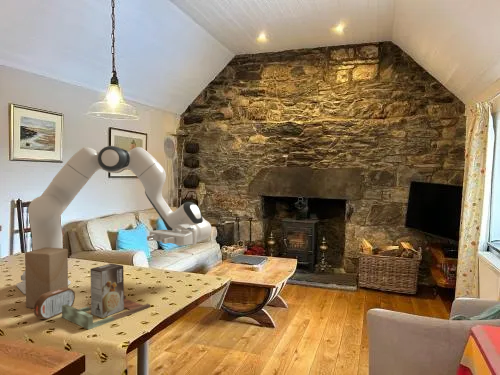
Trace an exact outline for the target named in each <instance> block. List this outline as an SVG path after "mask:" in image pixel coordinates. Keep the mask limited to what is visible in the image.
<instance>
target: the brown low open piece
mask: <svg viewBox="0 0 500 375" xmlns="http://www.w3.org/2000/svg"><path fill="white" fill-rule="evenodd" d="M126 297H127V296H126V295H124V309H127V310H126V311H123V312H122V311H121V312H120V313H119V312H118V313H116V314H114V315H112V316H111V315H110V316H109V317H108V316H107V317H106V318H105V317H104V318H102V319H100V320H97V321H94V315H93V314H90V313H88V312H89V311H91V305H88V306H85V307H81V308H76V307H74V306H72V307H71V306H69V305H67V304H66V305H62V313H61V318H62V319H65V320H68V321H69V322H71V323H73V324H76V325H78V326H80V327H82V328H84V329H87V330H91V329H94V328H97V327H100V326H102V325H106V324H107V323H111V322H113V321H116V320H119V319H122V318H125V317H127V316H129V315H133V314H135V313H138V312H141V311H144V310H147V309H149V308H151V304H150V303H145V304H141V303H138V302H135V301H133V300H130V299H127V298H126Z"/></svg>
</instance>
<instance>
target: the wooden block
mask: <svg viewBox="0 0 500 375" xmlns="http://www.w3.org/2000/svg"><path fill="white" fill-rule="evenodd" d="M68 257H69V252H68V248H48V247H45V248H41V249H37V250H34V251H33V250H32V251H27V252H25V253H24V264H25V265H24V266H25V267H24V268H25V270H24V271H25V279H26V294H25V308H28V309H34V305H35V302H36V301H37V299H38V298H39V297H40V296H41V295H42V294H44V293H47V292H50V291H53V290H56V289H59V288H62V287H67V288H69V285H68V280H69V266H68V265H69V264H68V263H69V258H68Z"/></svg>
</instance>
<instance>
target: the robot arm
mask: <svg viewBox="0 0 500 375" xmlns="http://www.w3.org/2000/svg"><path fill="white" fill-rule="evenodd" d="M99 170H102V171H105V172H107V173H109V174H119V173H122V172H124V171H125V170H130V171H131V172H132V173H133V174H134V175H135V176H136V177H137V178H138V180H139V181H140V183H141V184H142V186H143V188H144V194H145V197H146V198H147V199H148V201H149V202H150V204H151V205H152V207H153V208H154V210H155V212H156V213H157V215H158V216H159V217H160V219H161V220H162V221H163V224H164V227H165V228H166V229H158V230H157V229H155V230H150V231H149V235H148V236H146V241H148V242H151V241H156V242H160V243H162V244H173V245H176V246H178V247H180V246H196V245H197V243H199V242H203V241H205V240H207V239H208V238H209V237H210V236H211V235H212V229H213V228H212V225H211V223H210V222H209V221H208V220H206V219H205V218H204V217H203V214H202V211H201V208H200V207H199V206H198V205H197V204H196V203H195V202H192V201H185V202H184V203H183V204H181V205H180V206H179V207H178V208H177V209H175V210H174V211H173V210H172V209H171V208H170V206H169V205H168V203H167V202H166V200H165V198H164V197H163V188H164V186H165V182H166V179H167V173H166V170H165V168H164V166H163V165H161V163H160V162H159V161H158V160H157V159H156V158H155V156H154V155H152V154H151V153H150V152H148V151H147V150H146V149H144V148H143V147H141V146H137V147H133V148H132V149H130V150H127V149H123V148H120V147H118V146H116V145H108V146H104V147H103V148H102V149H100V150H99V151H97V150H96V149H94V148H93V147H88V146H84V147H81V148H80V149H79V150H77V152H76V153H74V154H73V156H71V157H70V158H69V159H68V160H67V162H66V163H65V164H64V165H63V166H62V167H61V169H60V170H59V171H58V172H57V173H56V174H55V176H54V177H53V179H52V180H51V182H50V183H49V184H48V186H47V187H46V189H45V190H44V191H43V193H42V194H41V195H40V196H37V197H35V198H34V199H33V200H32V201H31V202H30V203H29V205H28V208H27V209H28V210H27V212H28V217H29V227H30V231H31V239H32V240H31V242H32V244H31V245H32V249H31V250H32V251H34V250H37V249H41V248H45V247H48V248H63V247H64V246H63V245H64V243H63V238H64V237H63V236H64V235H63V234H64V233H63V231H62V230H63V228H62V223H61V215H63V213H64V211H65V210H66V209H67V207H69V206H70V204H71V203H72V201H73V200H74V199H75V198H76V196H77V195H78V194H79V192H80V191H81V190H83V188H84V186H85V185H86V184H87V183H88V182H89V181H90V179H91V178H92V176H94V174H95V173H96V172H98V171H99ZM20 280H21V281H20V282H18V283H16V287H17V288H18V289H19V291H20V292H22V294H24V295H26V279H25V270H24V271H23V272H22V274H21V275H20ZM70 284H72V281H71V280H69V279H68V286H69V285H70Z"/></svg>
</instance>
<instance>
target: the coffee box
mask: <svg viewBox="0 0 500 375" xmlns="http://www.w3.org/2000/svg"><path fill="white" fill-rule="evenodd" d="M124 284H125V281H124V265H121V264H118V263H117V264H116V263H108V264H104V265H100V266H95V267H92V268H90V298H91V299H90V301H91V302H90V306H91V310H90V311H91V312H90V313H91V314H90V315H93V316H96V317H99V318H102V319H105V317H106V318H107V317H108V316H109V317H110V316H111V315H113V314H114V315H115V314H117V313H119V312H122V311H124V310H125V308H124V296H125V288H124V286H125V285H124Z"/></svg>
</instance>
